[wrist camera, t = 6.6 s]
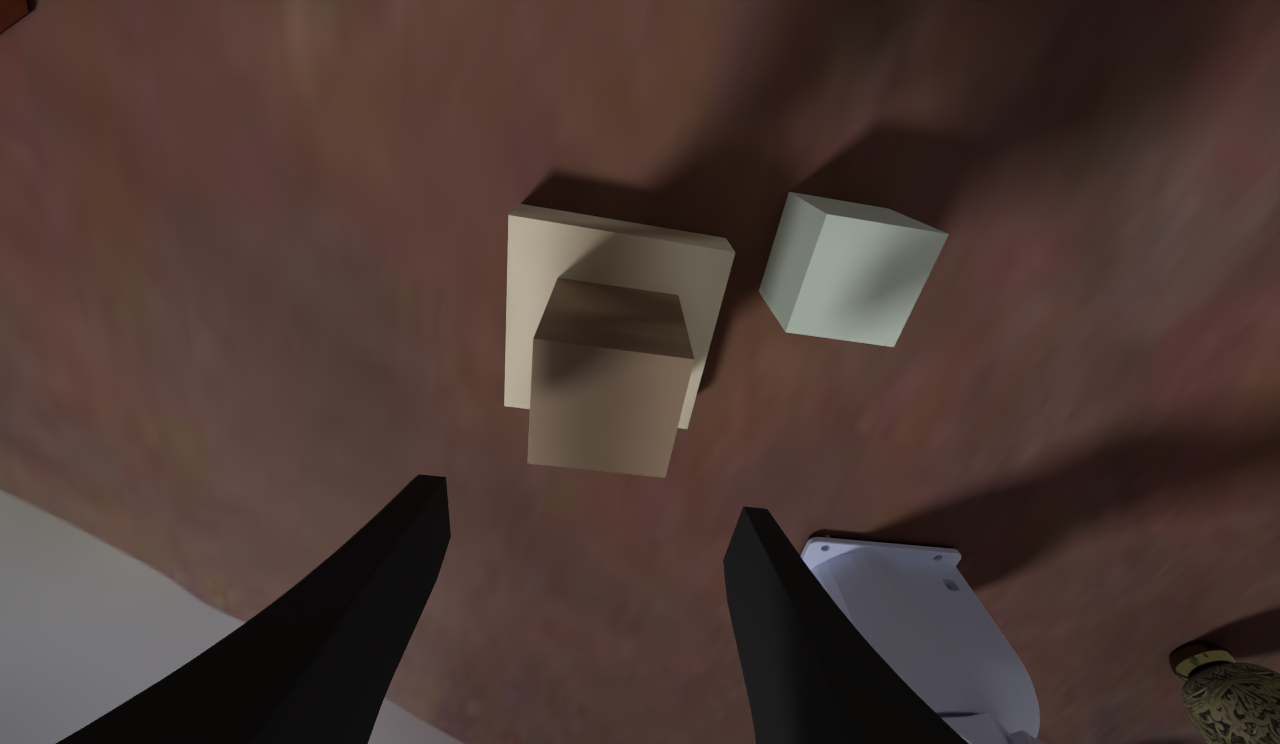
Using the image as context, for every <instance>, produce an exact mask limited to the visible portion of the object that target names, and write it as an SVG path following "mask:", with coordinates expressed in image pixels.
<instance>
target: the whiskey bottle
mask: <svg viewBox="0 0 1280 744" xmlns="http://www.w3.org/2000/svg"><path fill="white" fill-rule="evenodd" d="M28 12H29V11H28V7H27V2H26V0H0V32H2V31H3V30H5V29H6V28H7V27H9V26H10V25H12V24H13V23H14V22H16V21H17V20H19V19H20V18H21V17H23V16H24V15H26V14H27V13H28Z"/></svg>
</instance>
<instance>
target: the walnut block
mask: <svg viewBox="0 0 1280 744" xmlns="http://www.w3.org/2000/svg"><path fill="white" fill-rule="evenodd" d="M693 364H694V356H693V352H692V348H691V344H690V340H689V336H688V332H687V328H686V324H685V320H684V316H683V312H682V308H681V304H680V300H679V296H678V295H674V294H667V293H660V292H653V291H646V290H640V289H633V288H626V287H619V286H612V285H605V284H598V283H591V282H584V281H577V280H570V279H563V278H557V281H556V283H555V286H554V288H553V291H552V293H551V296H550V298H549V301H548V303H547V305H546V308H545V310H544V313H543V315H542V318H541V320H540V323H539V325H538V328H537V330H536V333H535V335H534V338H533V352H532V374H531V396H530V419H529V441H528V463H529V464H539V465H549V466H558V467H568V468H577V469H587V470H597V471H606V472H616V473H625V474H635V475H645V476H654V477H664V478H665V477H666V473H667V469H668V465H669V461H670V457H671V453H672V448H673V444H674V440H675V436H676V432H677V428H678V424H679V420H680V416H681V412H682V408H683V404H684V400H685V396H686V392H687V388H688V384H689V380H690V376H691V372H692V368H693Z"/></svg>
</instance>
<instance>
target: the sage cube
mask: <svg viewBox="0 0 1280 744" xmlns="http://www.w3.org/2000/svg"><path fill="white" fill-rule="evenodd" d="M948 235H949V234H947V233H945V232H943V231H940V230H938V229H935V228H933V227H931V226H928V225H926V224H924V223H921V222H919V221H917V220H914V219H912V218H910V217H907V216H905V215H903V214H900V213H898V212H896V211H893V210H891V209H888V208H882V207H877V206H871V205H865V204H859V203H853V202H847V201H841V200H835V199H829V198H823V197H817V196H811V195H805V194H799V193H793V192H789V193H788V197H787V200H786V203H785V206H784V210H783V213H782V216H781V220H780V223H779V226H778V230H777V233H776V236H775V239H774V243H773V246H772V249H771V253H770V256H769V259H768V263H767V266H766V269H765V272H764V276H763V279H762V282H761V286H760V289H759V293H760V294H761V296H762V297H763V299H764V300H765V302H766V303H767V305H768V306H769V308H770V309H771V311H772V312H773V314H774V315H775V317H776V318H777V320H778V321H779V323H780V324H781V326H782V327H783V329H784V330H785V332H788V333H796V334H803V335H810V336H817V337H824V338H832V339H839V340H846V341H853V342H860V343H868V344H875V345H882V346H889V347H894V346H895V344H896V341H897V339H898V337H899V335H900V333H901V331H902V329H903V327H904V325H905V323H906V321H907V319H908V317H909V315H910V313H911V311H912V309H913V307H914V305H915V303H916V301H917V299H918V297H919V294H920V292H921V290H922V288H923V286H924V284H925V282H926V280H927V278H928V276H929V274H930V272H931V270H932V268H933V266H934V264H935V262H936V260H937V258H938V256H939V254H940V252H941V250H942V247H943V245H944V243H945V241H946V239H947V237H948Z"/></svg>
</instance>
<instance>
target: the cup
mask: <svg viewBox="0 0 1280 744" xmlns="http://www.w3.org/2000/svg"><path fill="white" fill-rule="evenodd" d="M1169 664H1170V666H1171V668H1172V670H1173V672H1174V673H1175V674H1176V675H1177V676H1178V677H1180V678H1181V679H1183V680H1184V681H1186V682H1185V684H1184V686H1183V689H1182V701H1183V705H1184V707H1185V709H1186V712H1187V714H1188V715H1189V717H1190V719H1191V720H1192V722H1193V723H1194V725H1195V726H1196V728H1197V729H1198V731H1199V732H1200V734H1201V735H1202V736H1203V738H1204V739H1205V740H1206V742H1207V743H1208V744H1280V674H1279V673H1277V672H1275V671H1272V670H1270V669H1268V668H1265V667H1261V666H1258V665H1254V664H1249V663H1238V662H1237V661H1236V659H1235V657H1234V655H1233V654H1232V653H1231V652H1230V651H1229V650H1227V649H1225V648H1223V647H1221V646H1219V645H1217V644H1215V643H1209V642H1201V643H1194V644H1190V645H1187V646H1185V647H1182V648H1180V649H1178V650H1177V651H1176V652H1174V653H1173V654H1172V655H1171V657H1170V659H1169Z"/></svg>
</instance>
